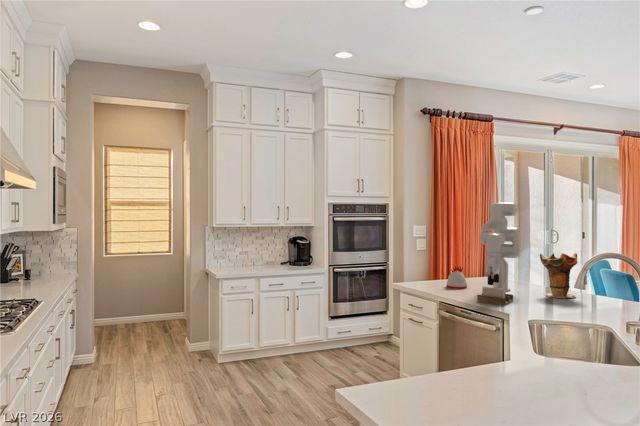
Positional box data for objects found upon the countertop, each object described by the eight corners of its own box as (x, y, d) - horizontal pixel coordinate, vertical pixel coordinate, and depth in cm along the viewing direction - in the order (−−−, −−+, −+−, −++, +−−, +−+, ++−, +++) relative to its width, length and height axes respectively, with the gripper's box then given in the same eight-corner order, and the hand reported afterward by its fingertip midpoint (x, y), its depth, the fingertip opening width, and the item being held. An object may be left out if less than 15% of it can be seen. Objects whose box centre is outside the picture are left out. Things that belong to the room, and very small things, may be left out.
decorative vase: (549, 291, 300) (550, 249, 300) (585, 297, 281) (586, 252, 281) (531, 294, 289) (531, 251, 289) (567, 300, 270) (568, 254, 269)
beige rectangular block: (484, 298, 269) (484, 286, 269) (504, 301, 262) (504, 288, 262) (482, 299, 267) (482, 287, 267) (503, 301, 259) (503, 289, 259)
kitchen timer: (469, 289, 309) (469, 267, 309) (449, 289, 309) (449, 267, 309) (463, 285, 323) (463, 264, 322) (444, 285, 323) (444, 264, 323)
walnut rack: (486, 298, 278) (486, 291, 278) (513, 301, 268) (513, 294, 268) (477, 301, 266) (477, 295, 266) (505, 305, 256) (505, 298, 256)
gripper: (491, 252, 273) (491, 281, 274) (481, 255, 260) (481, 285, 260) (504, 253, 269) (504, 282, 269) (495, 256, 255) (495, 286, 256)
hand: (493, 283), depth 265 cm, fingers open, 9 cm apart
